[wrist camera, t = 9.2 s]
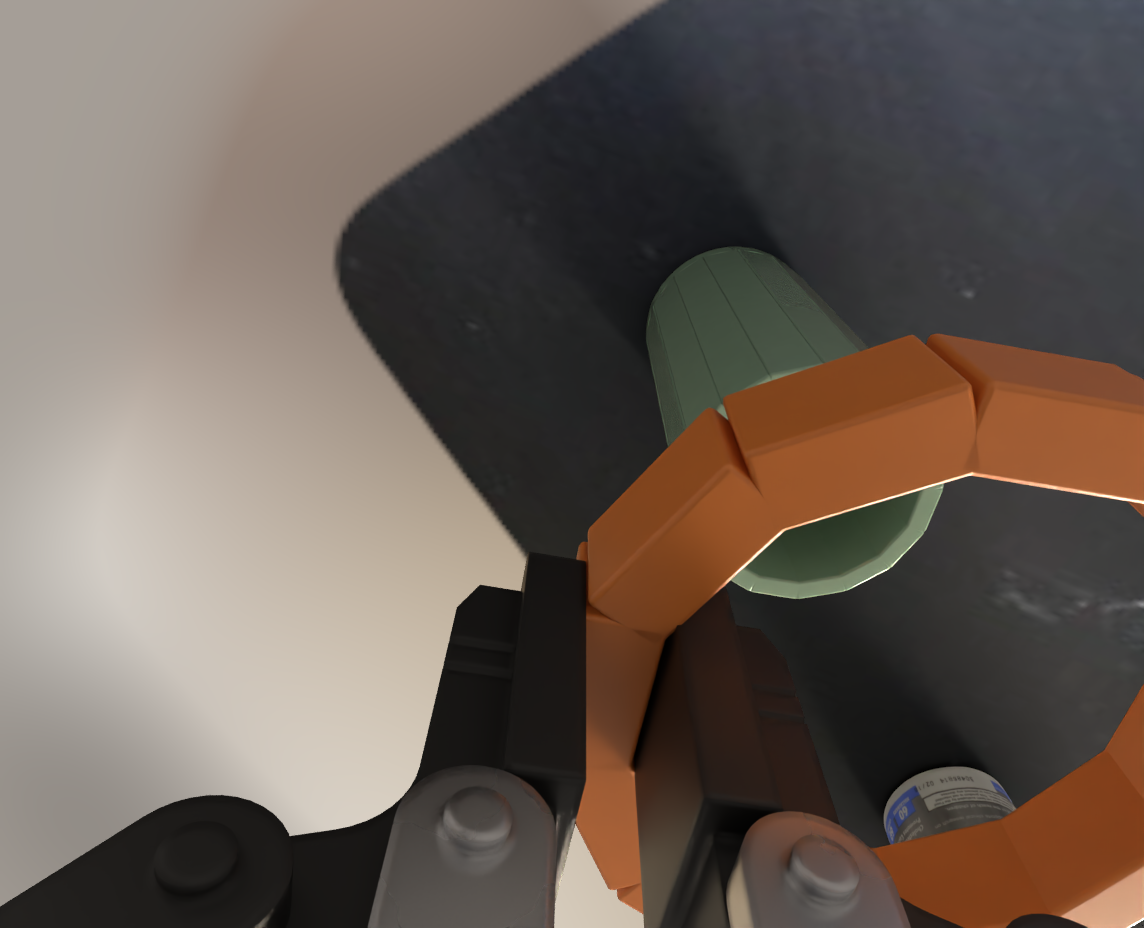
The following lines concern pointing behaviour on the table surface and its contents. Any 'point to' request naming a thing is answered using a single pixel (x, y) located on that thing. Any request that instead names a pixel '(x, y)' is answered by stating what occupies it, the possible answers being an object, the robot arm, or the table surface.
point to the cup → (752, 357)
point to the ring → (838, 485)
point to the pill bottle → (944, 803)
